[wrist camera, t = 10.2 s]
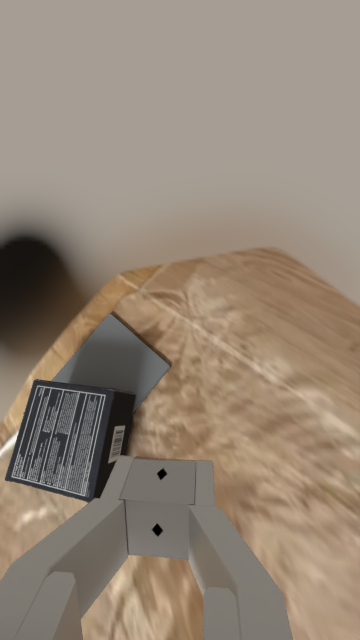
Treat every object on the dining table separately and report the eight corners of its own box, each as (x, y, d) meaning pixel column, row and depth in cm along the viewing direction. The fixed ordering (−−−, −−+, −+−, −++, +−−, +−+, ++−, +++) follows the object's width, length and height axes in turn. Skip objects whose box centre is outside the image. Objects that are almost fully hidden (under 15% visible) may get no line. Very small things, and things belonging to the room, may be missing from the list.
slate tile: (171, 366, 33) (170, 366, 33) (76, 482, 32) (73, 483, 31) (111, 314, 38) (109, 313, 38) (26, 413, 37) (23, 413, 36)
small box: (138, 392, 33) (67, 382, 36) (115, 388, 27) (32, 376, 30) (121, 488, 30) (44, 469, 33) (90, 506, 24) (0, 481, 27)
